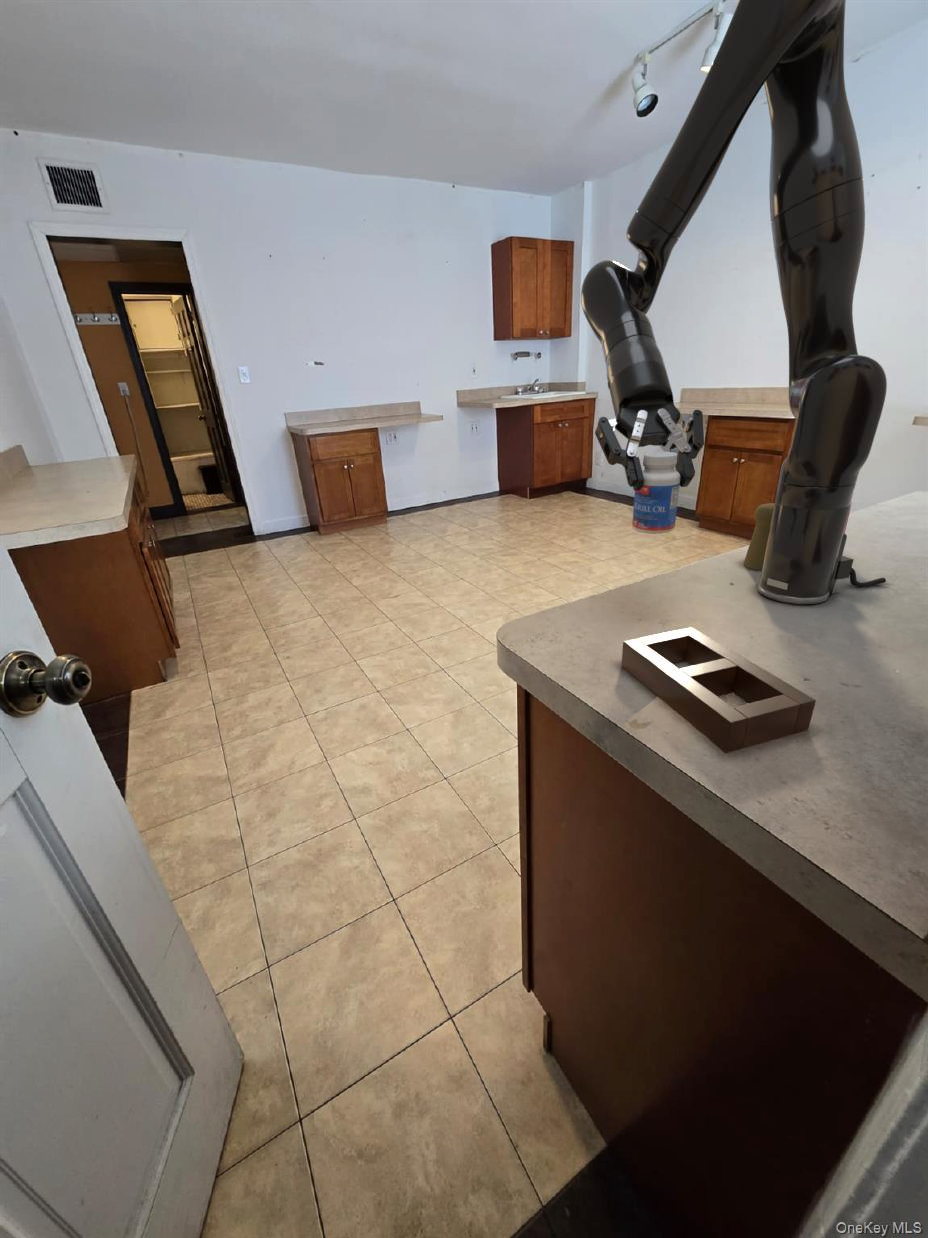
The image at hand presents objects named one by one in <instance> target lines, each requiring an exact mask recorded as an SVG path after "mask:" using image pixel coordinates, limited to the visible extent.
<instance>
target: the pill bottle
mask: <svg viewBox="0 0 928 1238" xmlns="http://www.w3.org/2000/svg"><path fill="white" fill-rule="evenodd" d="M642 460H643V461H642V466H643V467H644V468H643V469H642V473H643V477H644V484H643V486H642V488H641V490H637V491H634V498H633V499H634V500H633V511H632V521H631V523H632V529H633V530H634V531H636V532H639V533H642V534H648V535H649V534H650V535H659V534H666V533H669V532H672V531H674V529H675V527H676V520H677V512H678V503H679V494H680V488H681V487H680V474H679V472H677V471H676V469H675V466H676V463H677V453H674V452H664V451H651V452H650V451H649V452H645V453H644V454H643V459H642Z"/></svg>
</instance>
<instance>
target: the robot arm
mask: <svg viewBox="0 0 928 1238" xmlns="http://www.w3.org/2000/svg"><path fill="white" fill-rule="evenodd" d="M846 1H847V0H739V1H738V3H737V5H736V7H735V10H734V12H733V14H732V17H731V19H730V22H729V25H728V27H727V29H726V32H725V34H724V37H723V39H722V42H721V44H720V46H719V48H718V50H717V52H716V55H715V57H714V59H713V61H712V64H711V66H710V67H709V70H708V73H707V74H706V77H705V79H704V81H703V83H702V85H701V88H700V89H699V91H698V94H697V96H696V97H695V100H694V102H693V104H692V106H691V108H690V111H689V112H688V114H687V116H686V118H685V120H684V122H683V124H682V126H681V128H680V130H679V132H678V134H677V136H676V137H675V140H674V142H673V143H672V145H671V147H670V149H669V151H668V153H667V155H666V156H665V158H664V160H663V162H662V163H661V166H660V167H659V169H658V171H657V172H656V175H655V176H654V178H653V179H652V181H651V183H650V185H649V187H648V188H647V190H646V192H645V194H644V196H643V198H642V200H641V201H640V203H639V205H638V207H637V209H636V210H635V212H634V214H633V215H632V217H631V219H630V221H629V224H628V226H627V228H626V231H625V232H626V233H625V235H626V239H627V241H628V242H629V244H630V245H631V246H632V247H633V248H634V249H635V250H636V251H637V252H638V257H637V262H636V264H635V265H636V266H635V269H634V270H632V269H630V268H628V267H626V266H624V265H623V264H620V263H619V262H616V261H615V260H611V259H609V260H608V259H605V260H601V261H598V262H597V263H596V264H594V265H593V266H592V267H590V269H589V270H588V271H587V273H586V275H585V277H584V278H583V282H582V285H581V289H580V290H581V291H580V304H581V310H582V311H583V315H584V317H585V319H586V321H587V323H588V325H589V327H590V328H591V331H592V332H593V334H594V335H595V337H596V339H597V340H598V341H599V343H600V345H601V349H602V354H603V358H604V363H605V367H606V380H607V388H608V390H609V394H610V398H611V403H612V408H613V412H614V416H615V417H614V418H612V419H611V418H610V419H609V418H608V417H606V416H600V417H599V418H598V421H597V425H596V428H595V432H594V435H595V436H596V439H597V441H598V444H599V446H600V449H601V450H602V452H603V454H604V456H605V458H606V461H607V463H608V465H611V466H615V465H616V464H618V465H621V466H622V467H623V469H624V473H625V477H626V481H627V484H628V486H629V487H631V488H632V489H633V491H634V492H635V491H637V490H641V488H642V486H643V484H644V477H643V473H642V471H643V469H642V465H641V464H642V463H641V460H640V457H639V456H637V453H638V451H639V448H644V447H648V446H659V447H660V449H662V452H674V453H677V463H676V466H674V469H675V470H676V471H677V472H679V474H680V487H679V488H687V487H688V486H689V485H690V483H691V482H692V481H693V479H694V478H695V475H696V469H695V466H694V462H693V460H695V459H696V458H698V457H697V456H698V455H699V453H700V451H701V450H702V449H703V447H704V446H705V434H704V418H703V417H704V414H703V411H702V410H700V409H694V410H693V412H692V413H682V412H681V411H680V410H679V409H678V408H677V407H676V405H675V403H674V393H673V390H672V386H671V383H670V380H669V379H670V378H669V376H668V372H667V369H666V368H667V367H666V365H665V361H664V357H663V355H662V353H661V350H660V347H659V346H658V344H657V340H656V336H655V333H654V329H653V326H652V323H651V320H650V319H649V317H648V315H647V313H649V311H650V309H651V308H652V305H653V302H654V301H655V297H656V294H657V293H658V289H659V286H660V285H661V281H662V278H663V276H664V273H665V270H666V268H667V265H668V263H669V260H670V257H671V255H672V252H673V250H674V249H675V247H676V245H677V244H678V242H679V240H680V238H681V236H682V235H683V233H685V231H686V229H687V227H688V226H689V224H690V223H691V221H692V219H693V218H694V216H695V214H696V213H697V211H698V209H699V208H700V206H701V204H702V203H703V201H704V199H705V198H706V196H707V194H708V193H709V190H710V188H711V186H712V184H713V182H714V180H715V179H716V176H717V174H718V173H719V170H720V167H721V165H722V163H723V161H724V159H725V157H726V154H727V152H728V150H729V148H730V146H731V143H732V141H733V139H734V137H735V135H736V134H737V132H738V129H739V127H740V125H741V123H742V122H743V120H744V118H745V116H746V115H747V113H748V111H749V109H750V107H751V106H752V105H753V102H754V100H755V99H756V97H757V96H758V94H759V92H760V91H761V89H762V87H763V86H764V91H765V96H766V101H767V106H768V113H769V119H770V131H771V133H770V134H771V135H770V137H771V138H770V140H771V142H770V157H769V158H770V160H769V178H768V179H769V184H768V185H769V187H768V189H769V190H768V191H769V197H768V198H769V215H770V216H769V217H770V222H771V223H770V226H771V227H770V228H771V236H772V242H773V243H772V244H773V251H774V252H773V253H774V259H775V264H776V270H777V278H778V283H779V290H780V296H781V297H780V298H781V302H782V307H783V313H784V317H785V322H786V328H787V335H788V336H787V339H788V405H789V409H790V412H791V414H792V417H794V418H795V419H796V425H795V430H794V434H793V438H792V444H791V447H790V450H789V453H788V455H787V456H786V458H785V460H783V462H782V464H781V468H780V472H779V477H778V482H777V483H778V484H777V488H776V493H775V494H776V495H775V499H774V503H775V504H774V510H773V515H772V520H771V526H770V531H769V536H768V541H767V547H766V552H765V557H764V562H763V567H762V571H761V573H760V578H759V581H758V586H757V591H758V592H759V594H760V595H762V596H764V597H765V598H768V599H771V600H773V601H777V602H781V603H785V604H786V603H787V604H792V605H793V604H794V605H815V604H816V605H817V604H821V603H824V602H826V601H827V600H828V599H829V597H830V596H832V595H833V594H834V590H835V585H836V582H837V580H838V581H839V580H844V579H849V582H850V584H851V585H852V586H854V587H856V588H869V587H873V586H876V585H881V584H885V583H886V582H887V579H886V578H885V577H879V578H875V579H871V580H869V581H865V582H861V581H858V580H857V579H858V578H857V573H856V570H855V569H854V568H853V564H854V558H850V557H847V556H844V555H843V554H844V551H845V547H846V543H847V539H848V535H847V534H846V533H844V530H845V526H846V522H847V518H848V514H849V515H850V513H849V510H850V511H851V508H850V506H851V507H852V503H851V501H852V500H853V497H854V493H855V487H856V485H857V480H858V477H859V474H860V472H861V470H862V469H863V466H864V465H865V463H867V460H868V458H869V457H870V453H871V450H872V447H873V443H874V441H875V438H876V434H877V430H878V427H879V423H880V421H881V417H882V413H883V409H884V406H885V401H886V396H887V390H888V389H887V388H888V381H887V380H888V379H887V374H886V372H885V370H884V367H883V366H882V365H881V363H879V362H878V361H877V360H875V359H873V358H871V357H869V356H866V355H862V354H859V352H858V346H857V341H856V334H855V333H856V332H855V326H854V316H853V312H854V311H853V309H854V295H855V289H856V284H857V279H858V275H859V270H860V264H861V259H862V255H863V248H864V240H865V231H866V204H865V188H864V180H863V179H864V174H863V167H862V166H863V165H862V158H861V151H860V146H859V141H858V136H857V131H856V128H855V123H854V119H853V116H852V112H851V108H850V104H849V100H848V96H847V90H846V81H845V23H846V22H845V19H846ZM678 425H680V426H681V428H682V430H681V428H680V427H679V426H678ZM616 431H617V432H618V433H619V434H621V435H622V436H623V437H624V438H626V439H627V441H626V442H627V443H626V446H625V449H623V448H622V446H621V444H620V442H619V440H618V438H617V436H616V433H615V432H616ZM683 433H684V434H686V439H685V437H684V434H683ZM848 519H849V518H848ZM847 523H848V522H847ZM846 527H847V526H846ZM845 531H846V530H845Z"/></svg>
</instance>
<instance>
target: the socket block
mask: <svg viewBox="0 0 928 1238" xmlns="http://www.w3.org/2000/svg"><path fill="white" fill-rule="evenodd" d="M621 653H622V654H621V667H622V668H623V669H624V670H626V671H627V672H628V673H629V674H630V675H631V676H633V678H635V679H636V680H637V681H638V682H640V683H641V684H642V685H643V686H645V688H647V689H648V690H650V692H652V693H653V694H654V695H655V696H657V697H658V698H659V699H660V700H661V701H662V702H664V703H665V704H666V705H667V706H668V707H670V708H671V709H672V710H673V711H674V712H675V713H676V714H678V715H679V716H681V717H682V718H683V719H684V720H685V721H686V722H687V723H688V724H690V725H691V726H692V727H694V728H695V729H696V730H697V731H698V732H699V733H701V734H702V735H703V736H704V737H706V738H707V739H708V740H709V741H710V742H711V743H713V744H714V745H715V746H716V747H717V748H719V749H720V750H721V751H722V752H724V753H725V754H727V753H731V752H735V751H737V750H741V749H745V748H749V747H751V746H752V747H753V746H755V745H759V744H762V743H765V742H770V741H773V740H777V739H780V738H784V737H787V736H791V735H794V734H797V733H802V732H805V731H808V730H809V729H810V726H811V721H812V717H813V714H814V710H815V706H816V702H817V700H816V699H815V698H813V697H812V696H810V695H808V694H807V693H805V692H803V691H802V690H799V689H798V688H796V687H795V686H793V685H791V684H789V683H788V682H786V681H784V680H783V679H781V678H779V677H778V676H775V675H774V674H772V673H770V672H769V671H767V670H766V669H764V668H762V667H760V666H759V665H758V664H756V663H754V662H752V661H751V660H749V659H747V658H745V657H743V656H742V655H740V654H739V653H737V652H735V651H733V650H732V649H731V648H728V647H727V646H725V645H723V644H721V643H720V642H718V641H716V640H715V639H713V638H711V637H709V636H707V635H706V634H704V633H702V632H701V631H699V630H698V629H696V628H694V627H693V626H690V627H685V628H680V629H675V630H670V631H666V632H661V633H656V634H651V635H645V636H642V637H638V638H632V639H627V640H623V641H622V652H621ZM680 662H687V663H689V664H690V665H689V666H685V667H678V666H676V665H674V664H676V663H680ZM729 694H730V695H731V694H734V695H735V696H737V697H738V698H740V699H742V700H743V701H745V702H746V703H745V704H742V705H738V706H731V705H730V704H729V703H727V702H726V701H724V700H723V699H721V698H720V697H721V696H722V697H723V696H726V695H729Z"/></svg>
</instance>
